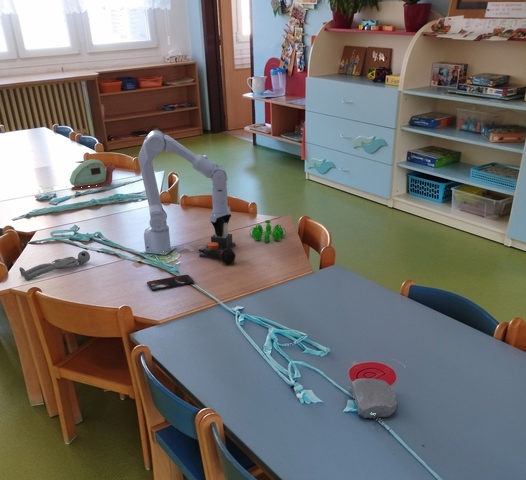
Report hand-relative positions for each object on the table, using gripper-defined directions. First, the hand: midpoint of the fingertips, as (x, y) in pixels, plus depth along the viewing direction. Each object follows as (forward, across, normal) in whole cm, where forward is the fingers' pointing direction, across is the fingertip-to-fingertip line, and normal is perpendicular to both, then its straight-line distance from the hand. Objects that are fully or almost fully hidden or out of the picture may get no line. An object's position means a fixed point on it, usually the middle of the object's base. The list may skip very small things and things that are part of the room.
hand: (221, 234), depth 225 cm
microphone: (+3, -12, -2) cm, 12 cm away
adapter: (+5, -4, 0) cm, 7 cm away
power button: (+3, -8, 0) cm, 8 cm away
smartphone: (+5, -38, +3) cm, 38 cm away
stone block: (+6, -83, -77) cm, 113 cm away
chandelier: (+6, +17, -13) cm, 22 cm away
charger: (+2, 0, 0) cm, 2 cm away
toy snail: (+6, +61, +102) cm, 119 cm away
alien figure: (+6, -41, +47) cm, 63 cm away
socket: (+5, 0, 0) cm, 5 cm away
